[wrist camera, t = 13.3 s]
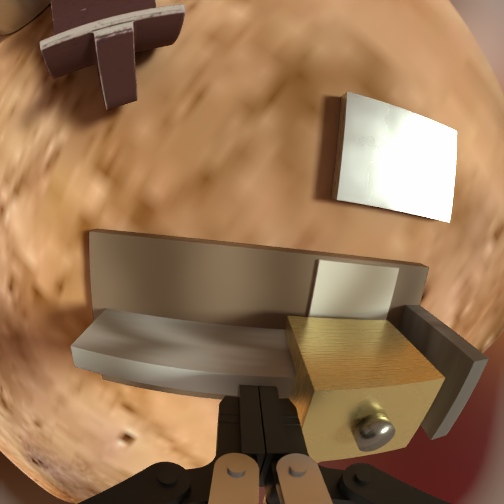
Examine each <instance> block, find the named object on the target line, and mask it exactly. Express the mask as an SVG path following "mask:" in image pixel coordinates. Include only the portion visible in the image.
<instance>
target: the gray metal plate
mask: <svg viewBox="0 0 504 504" xmlns="http://www.w3.org/2000/svg"><path fill="white" fill-rule="evenodd" d="M456 146H457V131H456V130H453V129H451V128H449V127H447V126H445V125H442V124H440V123H438V122H435V121H433V120H431V119H428V118H426V117H423V116H421V115H418V114H416V113H413V112H410V111H408V110H405V109H402V108H399V107H396V106H394V105H391V104H388V103H385V102H381V101H378V100H375V99H372V98H368V97H365V96H362V95H358V94H354V93H351V92H346V93H345V94H344V95H342V96H341V107H340V120H339V132H338V142H337V152H336V162H335V171H334V179H333V187H332V195H331V199H336V200H342V201H348V202H353V203H359V204H365V205H370V206H375V207H381V208H386V209H391V210H396V211H401V212H405V213H410V214H415V215H419V216H424V217H428V218H433V219H437V220H441V221H446V222H449V220H450V214H451V206H452V199H453V190H454V179H455V166H456Z"/></svg>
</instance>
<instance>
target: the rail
mask: <svg viewBox="0 0 504 504" xmlns="http://www.w3.org/2000/svg"><path fill="white" fill-rule="evenodd" d="M89 257H90V282H91V297H92V308H93V318H94V322H93V323H92V324H91V325H90V326H89V327H88V328H87V329H86V330H85V331H84V332H83V333H82V334H81V335H80V336H79V337H78V338H77V339H76V341H75V342H74V343H73V344H72V345H71V351H72V356H73V360H74V365H75V367H77V368H81V369H84V370H88V371H92V372H96V373H99V374H102V378H103V379H104V380H108V381H112V382H116V383H121V384H125V385H130V386H135V387H139V388H145V389H150V390H155V391H161V392H167V393H173V394H180V395H187V396H195V397H203V398H212V399H223V398H224V397H225V396H237V394H238V387H239V384H241V385H257V386H276V387H277V390H278V395H279V398H289V397H290V393H291V389H292V385H293V382H294V378H295V374H296V370H295V367H294V363H293V360H292V357H291V354H290V350H289V347H288V344H287V341H286V337H285V334H284V331H285V325H286V320H287V316H298V317H314V318H333V319H359V320H388V321H389V322H390V323H391V324H392V325H393V326H394V327H395V328H396V329H397V330H398V331H399V332H400V333H401V334H402V335H403V336H404V337H405V338H406V339H407V340H408V341H409V342H410V343H411V344H412V345H413V346H414V347H415V348H416V349H417V350H418V351H419V352H420V353H421V354H422V355H423V356H424V357H425V358H426V359H427V360H428V361H429V362H430V363H431V364H432V365H433V366H434V367H435V368H436V369H437V370H438V371H439V372H440V373H441V374H442V375H443V376H444V377H445V380H444V382H443V384H442V386H441V388H440V390H439V392H438V393H437V395H436V397H435V399H434V401H433V403H432V405H431V407H430V408H429V410H428V412H427V414H426V415H425V417H424V419H423V420H422V422H421V424H420V425H421V426H422V428H423V429H424V431H425V432H426V434H427V435H428V436H429V438H430V439H431V440H432V439H435V438H439V437H442V436H444V435H446V434H447V433H448V432H449V430H450V429H451V427H452V425H453V424H454V422H455V421H456V419H457V417H458V416H459V414H460V413H461V411H462V409H463V408H464V406H465V404H466V402H467V400H468V399H469V397H470V395H471V393H472V391H473V389H474V388H475V386H476V384H477V382H478V380H479V378H480V376H481V374H482V372H483V370H484V368H485V365H486V363H487V361H488V358H487V357H486V356H485V355H484V354H482V353H481V352H480V351H479V350H477V349H476V348H475V347H474V346H472V345H471V344H470V343H469V342H467V341H466V340H465V339H464V338H462V337H461V336H460V335H458V334H457V333H456V332H455V331H453V330H452V329H451V328H449V327H448V326H447V325H445V324H444V323H443V322H441V321H440V320H439V319H437V318H436V317H435V316H433V315H432V314H431V313H429V312H428V311H427V310H425V309H424V308H423V307H421V306H420V301H421V298H422V294H423V290H424V287H425V283H426V279H427V275H428V270H429V267H427V266H425V265H423V264H421V263H413V262H405V261H396V260H388V259H379V258H370V257H362V256H353V255H344V254H335V253H326V252H317V251H308V250H299V249H290V248H280V247H271V246H262V245H252V244H243V243H234V242H224V241H214V240H205V239H195V238H185V237H175V236H165V235H155V234H145V233H135V232H125V231H115V230H104V229H95V230H92V231H90V232H89Z"/></svg>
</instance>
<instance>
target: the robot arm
mask: <svg viewBox="0 0 504 504" xmlns="http://www.w3.org/2000/svg"><path fill="white" fill-rule="evenodd" d="M50 3H51V0H0V35H6V34H10V33H12V32H15V31H17V30H18V29H20V28H21V27H23V26H25V25H26V24H27V23H29V22H30V21H31V20H33V19H34V18H35V17H36V16H37V15H38V14H39V13H41V12H42V11H43V10H44V9H45V8H46V7H47V6H48V5H49V4H50ZM262 486H263V487H265V498H264V501H263V504H450V503H448V502H445V501H443V500H441V499H438V498H436V497H434V496H432V495H429V494H427V493H425V492H423V491H421V490H418V489H416V488H414V487H412V486H410V485H408V484H406V483H404V482H402V481H400V480H398V479H396V478H394V477H392V476H390V475H388V474H387V473H385V472H383V471H381V470H379V469H377V468H375V467H374V466H372V465H369V464H366V463H356V464H352V465H350V466H349V467H347V468H346V470H338V469H330V468H325V467H322V466H320V465H318V464H317V463H316V462H315V460H313V459H312V458H311V457H310V456H309V454H308V451H307V447H306V443H305V439H304V436H303V432H302V428H301V426H300V420H299V418H298V413H297V409H296V406H295V405H294V404H293V403H292V402H291V401H290V399H285V398H279V395H278V390H277V387H276V386H257V385H241V384H239V387H238V394H237V396H225V397H224V398H223V399H222V401H221V402H220V404H219V414H218V426H217V443H216V456H215V458H214V460H213V461H212V462H211V463H209V464H208V465H206V466H204V467H201V468H195V469H187V470H185V469H184V468H183V467H181V466H180V465H178V464H175V463H171V462H159V463H155V464H153V465H151V466H149V467H148V468H146V469H144V470H143V471H141V472H139V473H137V474H135V475H134V476H132V477H130V478H128V479H126V480H125V481H123V482H121V483H119V484H117V485H115V486H113V487H111V488H109V489H107V490H105V491H103V492H101V493H99V494H97V495H95V496H93V497H91V498H89V499H86V500H84V501H82V502H80V503H78V504H259V487H262Z"/></svg>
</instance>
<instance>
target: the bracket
mask: <svg viewBox="0 0 504 504" xmlns="http://www.w3.org/2000/svg"><path fill="white" fill-rule="evenodd" d="M51 9H52V19H53V31H54V36H52V37H49V38H47V39H44V40H42V41H40V49H41V52H42V56H43V59H44V61H45V64H46V67H47V69H48V71H49V73H50V74H51V76H52V77H53V78H54V79H56V78H58V77H60V76H63V75H65V74H68V73H71V72H73V71H76V70H79V69H82V68H84V67H87V66H90V65H94V64H95V65H97V68H98V73H99V78H100V83H101V88H102V93H103V98H104V102H105V107H106V110H109V109H112V108H115V107H118V106H121V105H124V104H127V103H131V102H134V101H137V83H136V69H135V52H140V51H144V50H148V49H153V48H158V47H163V46H169V45H172V44H173V43H174V42H175V41H176V40H177V38H178V36H179V34H180V31H181V28H182V25H183V21H184V16H185V5H184V4H180V5H172V6H164V7H158V8H156V3H155V0H51Z"/></svg>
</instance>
